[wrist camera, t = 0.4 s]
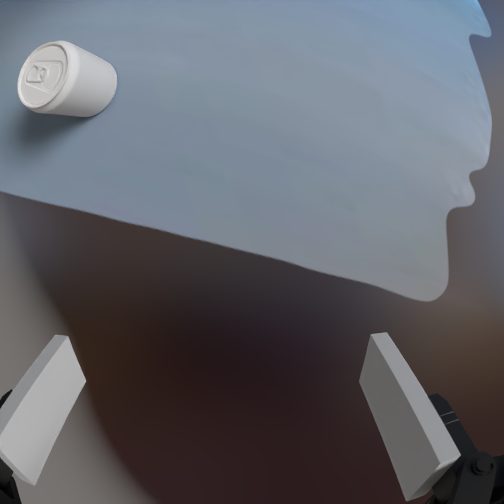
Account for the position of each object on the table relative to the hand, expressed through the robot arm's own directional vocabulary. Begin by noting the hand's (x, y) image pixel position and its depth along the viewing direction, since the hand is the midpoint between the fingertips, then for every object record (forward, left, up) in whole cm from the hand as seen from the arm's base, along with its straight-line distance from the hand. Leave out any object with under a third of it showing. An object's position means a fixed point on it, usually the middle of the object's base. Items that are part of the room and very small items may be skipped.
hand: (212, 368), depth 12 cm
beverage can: (-18, -19, -28) cm, 38 cm away
